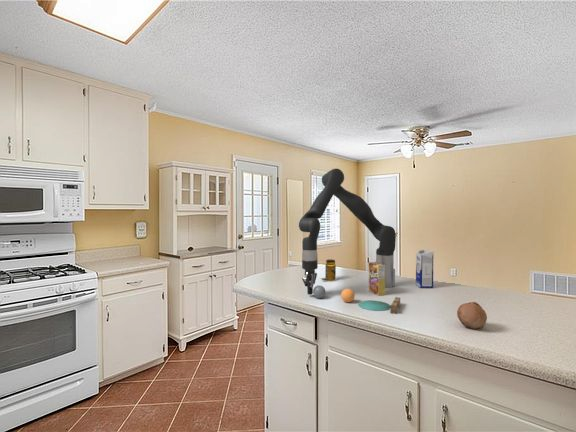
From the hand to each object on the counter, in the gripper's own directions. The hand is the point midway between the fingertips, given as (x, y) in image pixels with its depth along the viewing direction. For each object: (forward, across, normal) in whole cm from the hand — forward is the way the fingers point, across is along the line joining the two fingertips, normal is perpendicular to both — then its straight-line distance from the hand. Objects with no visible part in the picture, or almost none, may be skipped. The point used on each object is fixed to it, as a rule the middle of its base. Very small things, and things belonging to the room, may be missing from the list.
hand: (310, 294), depth 156 cm
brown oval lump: (+2, +9, +68) cm, 69 cm away
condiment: (+2, -37, -4) cm, 37 cm away
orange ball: (-2, 0, +19) cm, 19 cm away
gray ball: (-2, 0, +5) cm, 5 cm away
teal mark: (+1, 0, +31) cm, 31 cm away
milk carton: (+2, -46, +48) cm, 66 cm away
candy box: (+2, -21, +28) cm, 34 cm away
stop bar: (+1, 0, +40) cm, 40 cm away
